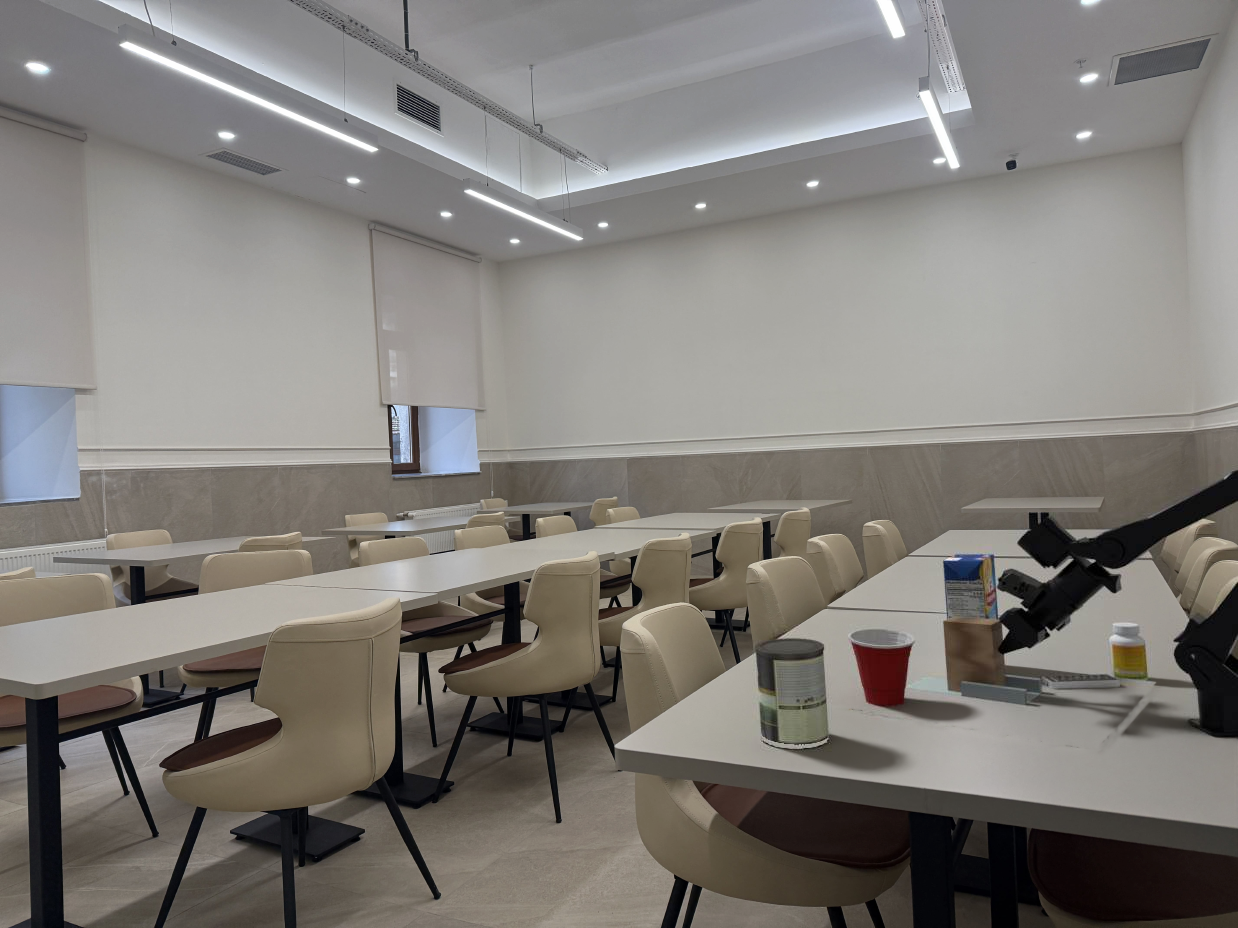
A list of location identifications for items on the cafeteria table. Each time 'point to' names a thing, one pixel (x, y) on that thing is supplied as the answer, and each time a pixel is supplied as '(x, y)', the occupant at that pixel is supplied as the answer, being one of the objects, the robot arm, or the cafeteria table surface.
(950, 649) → the block
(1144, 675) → the supplement bottle
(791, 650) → the coffee can
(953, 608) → the beverage box
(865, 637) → the plastic cup
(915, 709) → the cafeteria table surface
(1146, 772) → the cafeteria table surface
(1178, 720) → the cafeteria table surface
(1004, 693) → the chute
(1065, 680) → the multiport hub
